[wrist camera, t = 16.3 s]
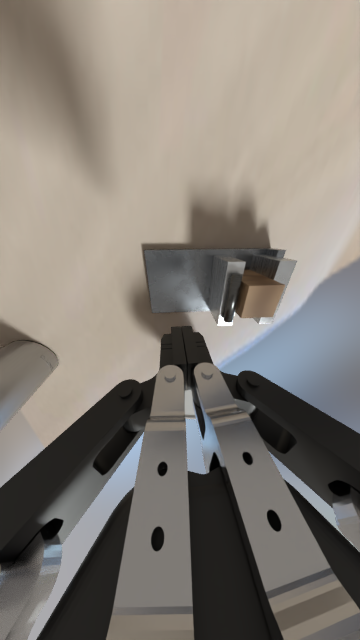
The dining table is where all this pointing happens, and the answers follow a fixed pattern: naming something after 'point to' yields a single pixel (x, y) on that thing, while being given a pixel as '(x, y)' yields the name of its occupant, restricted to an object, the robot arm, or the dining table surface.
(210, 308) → the block
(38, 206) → the dining table surface
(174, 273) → the vise bed
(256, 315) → the walnut block
